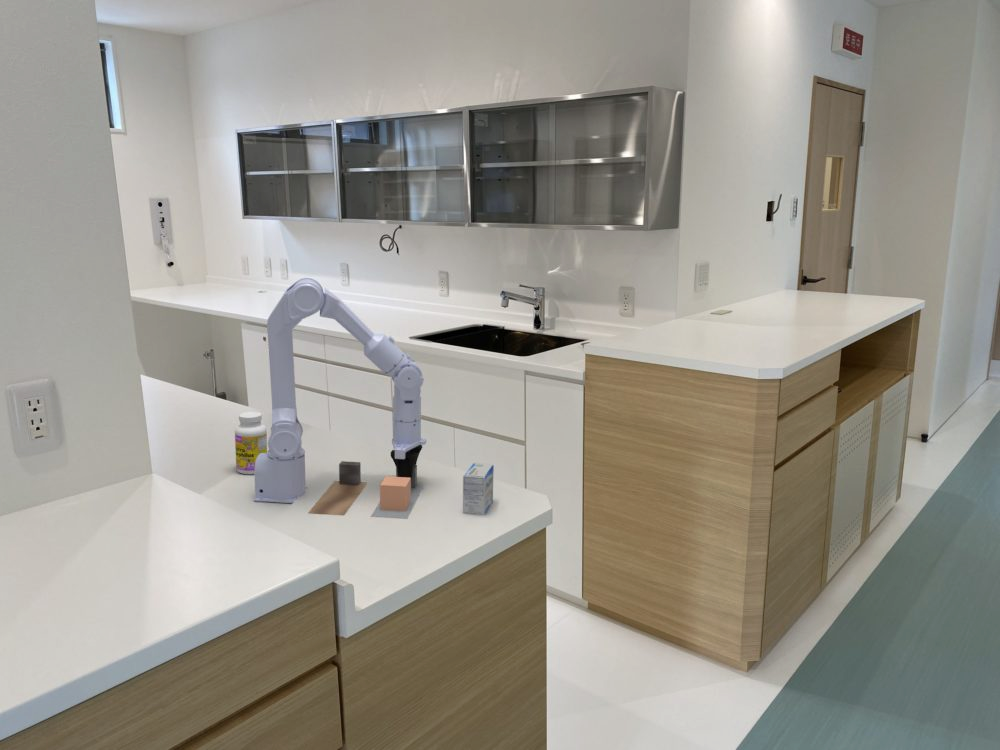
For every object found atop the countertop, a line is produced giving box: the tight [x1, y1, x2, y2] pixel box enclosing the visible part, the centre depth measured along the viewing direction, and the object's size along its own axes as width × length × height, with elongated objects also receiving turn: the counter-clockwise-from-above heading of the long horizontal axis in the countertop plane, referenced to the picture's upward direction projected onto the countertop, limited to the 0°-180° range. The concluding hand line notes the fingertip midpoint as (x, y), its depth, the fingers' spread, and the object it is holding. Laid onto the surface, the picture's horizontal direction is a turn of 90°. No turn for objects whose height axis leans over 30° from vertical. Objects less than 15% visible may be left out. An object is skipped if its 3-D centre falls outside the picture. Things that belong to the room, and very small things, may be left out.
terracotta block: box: [379, 475, 411, 511], centre depth 147 cm, size 5×5×5 cm
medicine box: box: [462, 462, 495, 516], centre depth 147 cm, size 8×4×9 cm, turn 168°
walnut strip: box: [307, 460, 368, 516], centre depth 150 cm, size 7×18×5 cm, turn 176°
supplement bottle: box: [234, 411, 268, 475], centre depth 166 cm, size 7×7×13 cm
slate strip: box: [370, 464, 425, 520], centre depth 150 cm, size 7×18×5 cm, turn 176°
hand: (406, 481), depth 158 cm, fingers closed on slate strip, 2 cm apart
